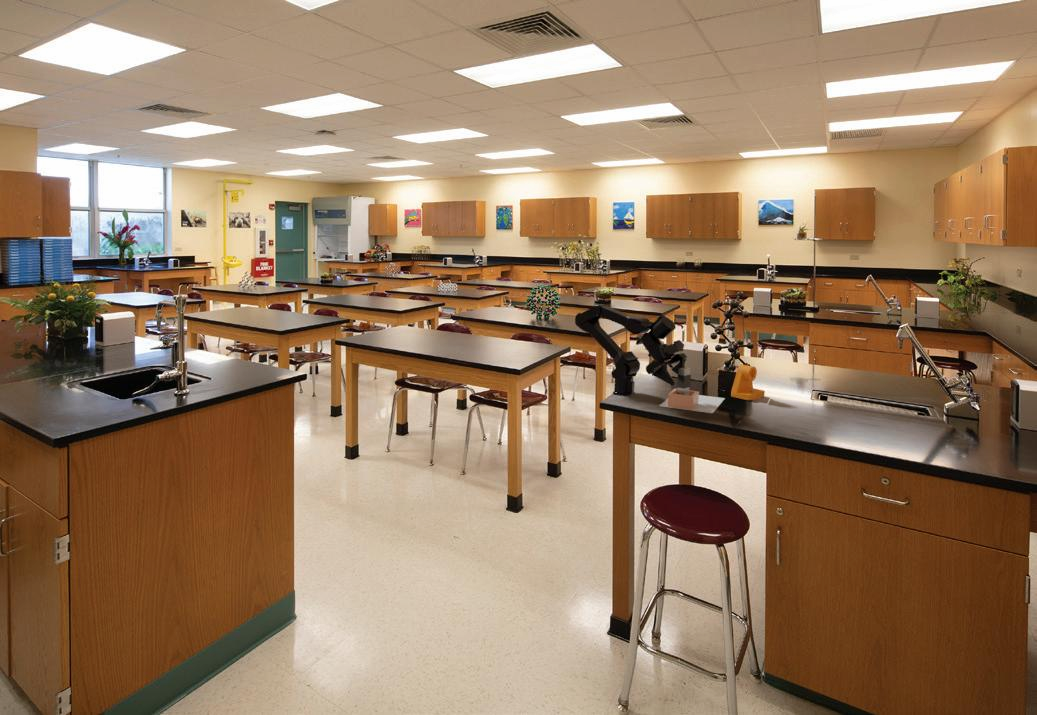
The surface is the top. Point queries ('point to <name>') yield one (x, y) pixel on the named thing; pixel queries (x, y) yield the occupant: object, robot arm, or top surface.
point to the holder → (683, 399)
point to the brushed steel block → (684, 381)
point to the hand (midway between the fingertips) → (680, 382)
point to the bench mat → (702, 404)
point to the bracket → (746, 384)
